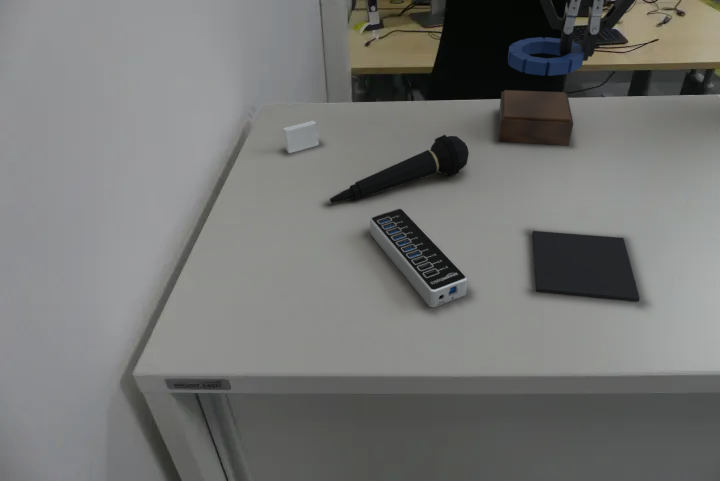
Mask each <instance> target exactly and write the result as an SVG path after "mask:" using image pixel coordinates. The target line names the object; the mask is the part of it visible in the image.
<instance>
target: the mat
mask: <svg viewBox="0 0 720 481" xmlns="http://www.w3.org/2000/svg"><path fill="white" fill-rule="evenodd" d="M532 246H533V248H532V249H533V261H534V262H533V263H534V277H535V290H536V292H540V293H549V294H550V293H551V294H562V295H572V296H582V297H591V298H603V299H612V300H622V301H631V302H632V301H633V302H639V301H640V299H641V298H640V294H639V291H638V287H637V284H636V279H635V275H634V272H633V269H632V264H631V260H630V257H629V253H628V250H627V246H626V243H625V239H624V237H618V236H605V235H591V234H579V233H566V232H555V231H554V232H552V231H543V230H541V231H540V230H533V231H532Z"/></svg>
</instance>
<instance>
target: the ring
mask: <svg viewBox="0 0 720 481" xmlns="http://www.w3.org/2000/svg"><path fill="white" fill-rule="evenodd" d="M560 40H561V38H557V37H547V36H545V37H542V36H538V37H530V38H524V39H519V40H518V41H517V40H516V41H515V42H513V43H511V44H510V45H509V46H508V51H507V52H508V54H507V64H508V65H509V67H510V68H512V69H513V70H516V71H518V72H520V73H523V72H524V74H528V75H534V76H542V77H545V76H546V75H547V76H548V77H551V76H560V75H568V74H571V73H573V72H575V71H577V70H579V69H581V68H582V67H583V62H584V61H583V58H584V52H583V48H582V46H581V44H579V43H576V42H574V41H573V42H572V48H571V53H569V54H567V55H565V56H560V52H559V46H560ZM537 54H538V55H539V54H546V55H555V56H557V57H548V58H546V57H538V56H533V55H537Z"/></svg>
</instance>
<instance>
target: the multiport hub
mask: <svg viewBox="0 0 720 481" xmlns="http://www.w3.org/2000/svg"><path fill="white" fill-rule="evenodd" d="M369 230H370V232H369V233H370V236H371V237H372V238H373V239H374V241H375V242H376V243H377V244H378V245H379V247H380V248H381V249H382V250H383V252H384V253H385V254H386V256H388V258H389V259H390V260H391V262H392V263H393V264H394V265H395V266H396V268H397V269H398V270H399V271H400V273H401V274H402V276H404V277H405V279H406V280H407V281H408V282H409V284H410V285H411V286H412V287H413V289H415V291H416V292H417V293H418V295H419V296H420V297H421V299H422V300H423V301H424V302H425V303H426V305H428V307H429V308H431V309H432V308H437V307H439V306H442V305H444V304H447V303H450V302H453V301H455V300H458V299H460V298H462V297H465V296H466V295H467V288H468V276H467V275H466V274H465V272H463V270H461V268H460V267H459V266H457V264H456V263H455V262H454V261H453V260H452V259H451V258H450V257H449V256H448V255H447V254H446V253H445V252H444V250H442V248H441V247H440V246H439V245H438V244H437V243H436V242H435V241H434V240H433V239H432V238H431V237H430V236H429V235H428V234H427V233H426V232H425V231H424V229H423V228H422V227H421V226H420V225H419V224H418V223H416V221H415V220H414V219H413V218H412V217H411V216H410V215H409V214H408V213H407V212H406V211H405V209H403V208H396V209H392V210H389V211H386V212H383V213H380V214H377V215H374V216H371V217H370V218H369Z"/></svg>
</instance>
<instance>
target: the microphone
mask: <svg viewBox="0 0 720 481" xmlns="http://www.w3.org/2000/svg"><path fill="white" fill-rule="evenodd" d="M469 156H470V151H469V147H468V146H467V144H466V142H465V141H463V140H462V139H461V138H460V137H459V136H457V135H448V136H447V134H443V135H441V136H439V137H436V138H434V142H433V143H432V144H431V146H430V149H427V150H424V151H422V152H419V153H417V154H415V155H413V156H411V157H409V158H407V159H404V160H402V161H400V162H397V163H395V164H393V165H391V166H389V167H386V168H384V169H382V170H380V171H377V172H375V173H373V174H371V175H369V176H367V177H364V178H362V179H359V180H357V181H356V182H354V184H351V185H350V186H349V188H347V189H344V190H343V191H340V192H338V193H337V194H335V195H334V196H332V197H330V198H329V202H330V203H331V204H334V203H340V202H344V201H347V200H351V199H354V200H357V199H359V198H360V199H363V198H366V197H370V196H373V195H375V194H378V193H382V192H384V191H387V190H389V189H393V188H396V187H399V186H402V185H405V184H408V183H412V182H414V181H417V180H421V179H425V178H427V177H429V176H433V175H435V174H438V173H439V174H441V175H447V177H452V176H456V175H458V174H460V171H461V170H462V169H464V168H465V167H466V166H467V165H468V160H469Z"/></svg>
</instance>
